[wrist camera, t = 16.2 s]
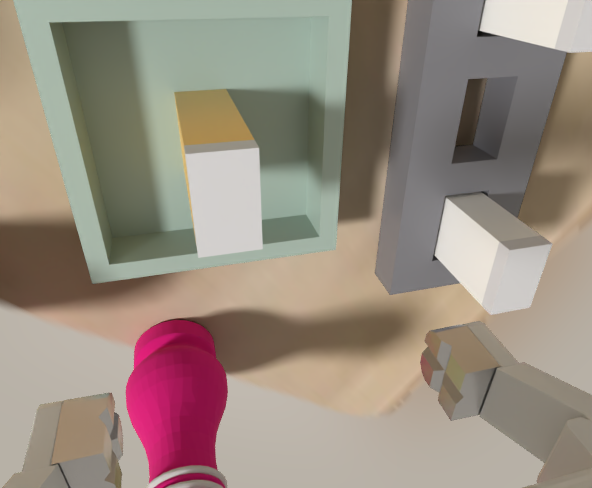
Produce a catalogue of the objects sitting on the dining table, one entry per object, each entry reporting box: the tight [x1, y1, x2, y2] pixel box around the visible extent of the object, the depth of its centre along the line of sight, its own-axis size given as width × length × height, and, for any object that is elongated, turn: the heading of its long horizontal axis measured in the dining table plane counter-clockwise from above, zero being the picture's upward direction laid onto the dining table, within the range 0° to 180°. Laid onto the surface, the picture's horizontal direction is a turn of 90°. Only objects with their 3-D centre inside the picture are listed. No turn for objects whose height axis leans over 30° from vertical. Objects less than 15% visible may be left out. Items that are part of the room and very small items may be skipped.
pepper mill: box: [126, 320, 228, 488], centre depth 30 cm, size 7×7×20 cm
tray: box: [13, 0, 352, 284], centre depth 27 cm, size 16×16×4 cm
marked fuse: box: [174, 89, 263, 258], centre depth 24 cm, size 5×3×10 cm, turn 0°
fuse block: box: [375, 0, 567, 295], centre depth 32 cm, size 27×10×3 cm, turn 0°
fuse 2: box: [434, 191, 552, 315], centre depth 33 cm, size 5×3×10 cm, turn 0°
